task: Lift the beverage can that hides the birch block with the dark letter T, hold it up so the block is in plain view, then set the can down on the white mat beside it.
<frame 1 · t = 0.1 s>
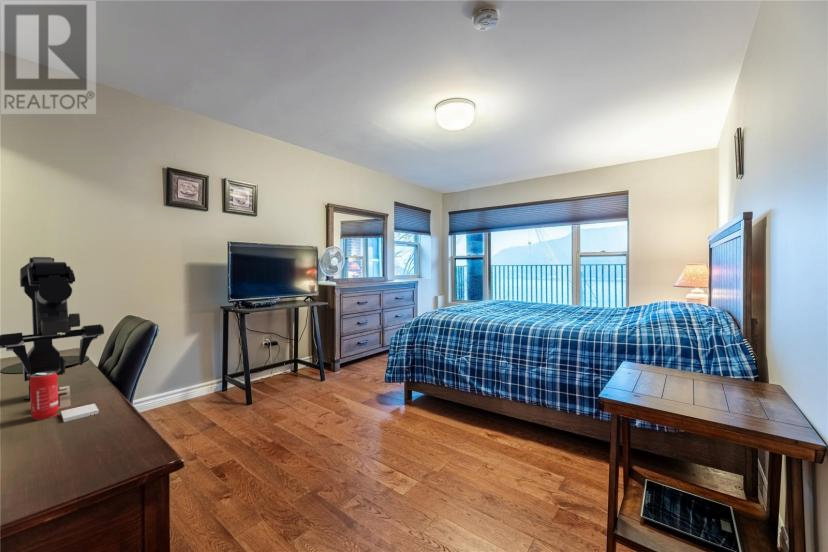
hand: (56, 369, 88), 15 cm above the table, tool pointing down, fingers open, 9 cm apart
letter block: (58, 406, 103), on the table
white mat: (80, 414, 97), on the table
beverage can: (45, 417, 96), on the table
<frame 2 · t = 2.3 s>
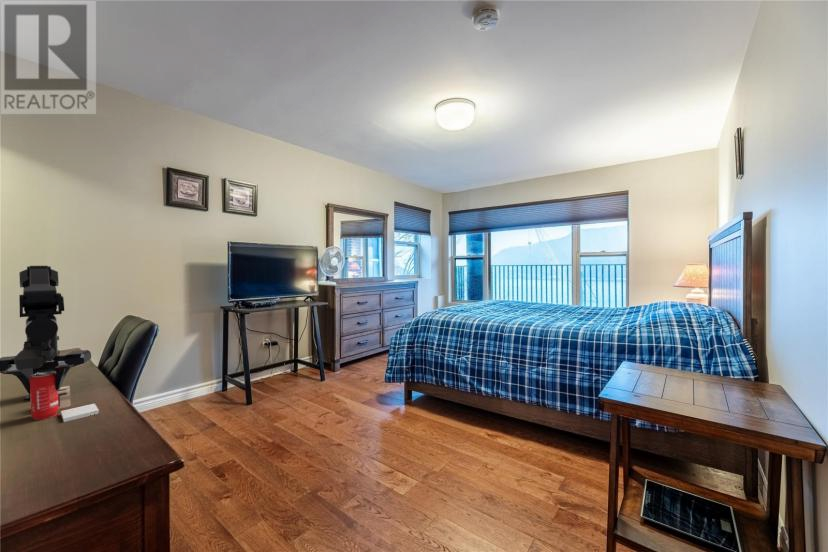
hand: (44, 391, 96), 7 cm above the table, tool pointing down, fingers closed on beverage can, 5 cm apart
beverage can: (45, 417, 96), on the table, touching gripper
everything else where it was.
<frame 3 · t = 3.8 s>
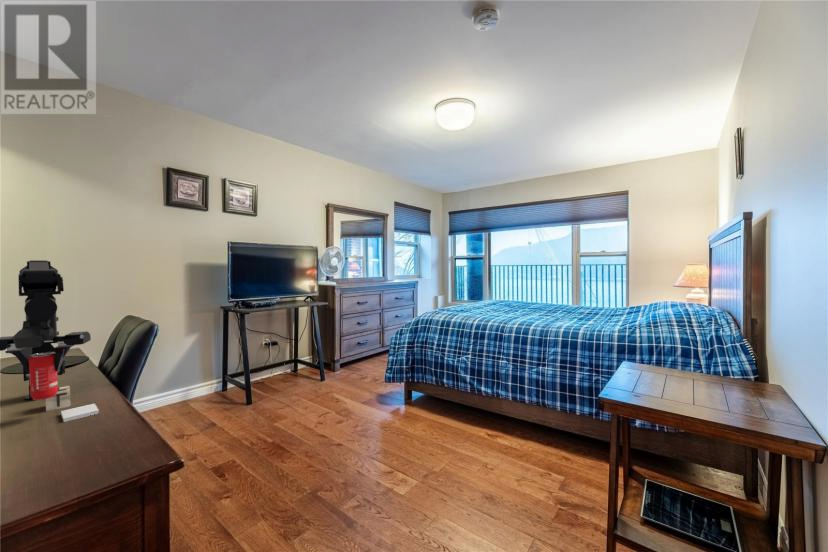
hand: (43, 371, 95), 12 cm above the table, tool pointing down, fingers closed on beverage can, 5 cm apart
beverage can: (44, 397, 96), point 5 cm above the table, touching gripper
everything else where it was.
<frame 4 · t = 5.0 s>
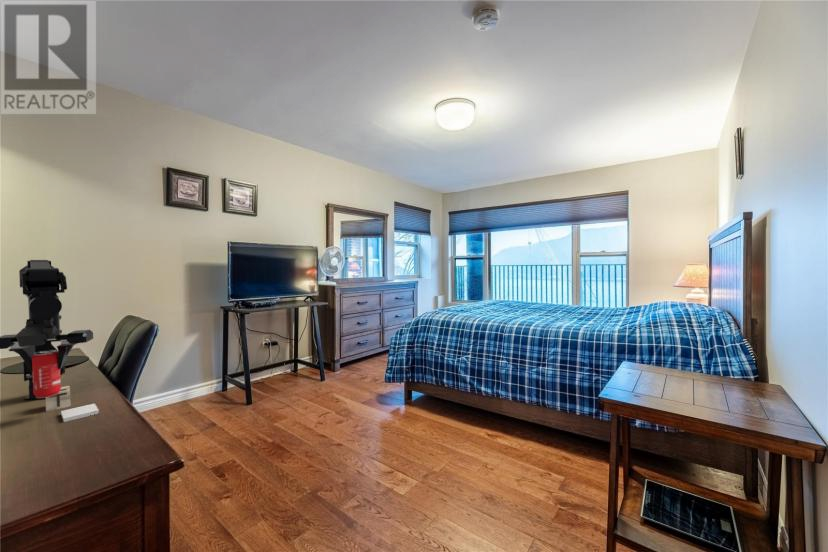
hand: (46, 369, 96), 13 cm above the table, tool pointing down, fingers closed on beverage can, 5 cm apart
beverage can: (47, 395, 96), point 6 cm above the table, touching gripper
everything else where it was.
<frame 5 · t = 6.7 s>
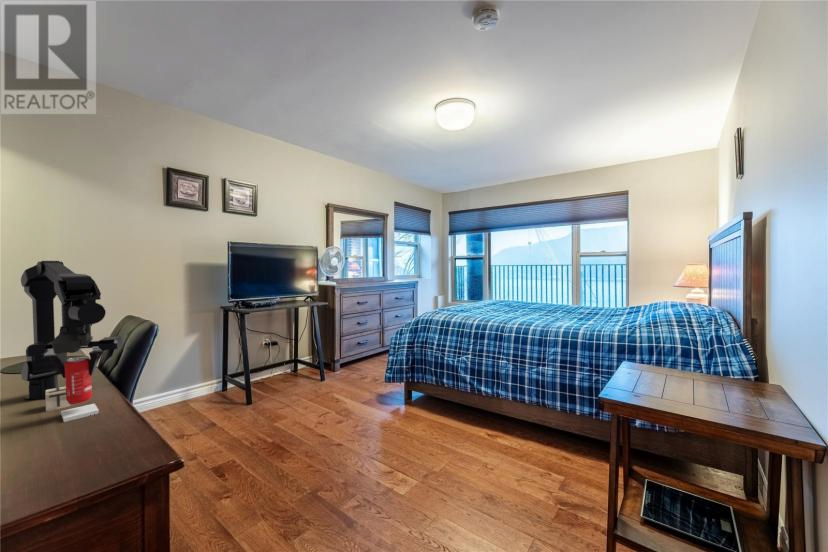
hand: (78, 376, 97), 11 cm above the table, tool pointing down, fingers closed on beverage can, 5 cm apart
beverage can: (79, 401, 97), point 4 cm above the table, touching gripper
everything else where it was.
when the fingers open (9 cm above the table, at t = 7.8 s): beverage can drops 1 cm, resting on white mat.
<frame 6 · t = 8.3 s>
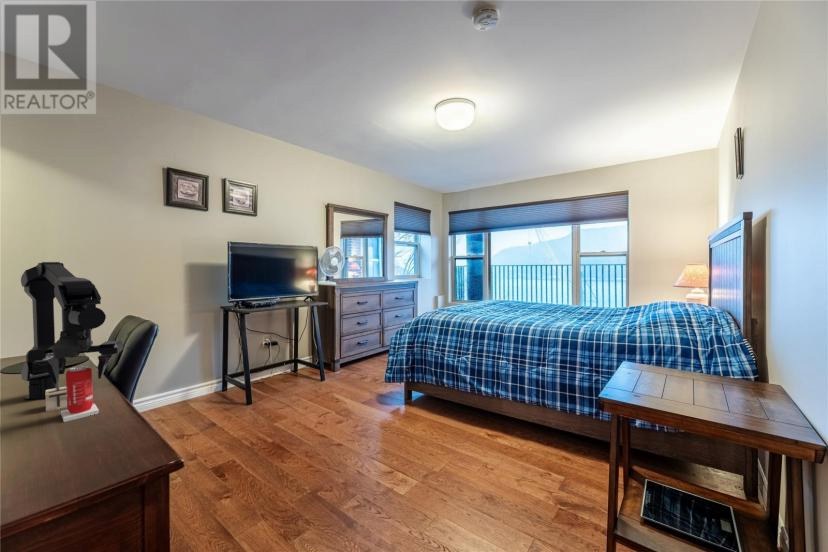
hand: (78, 380, 97), 9 cm above the table, tool pointing down, fingers open, 9 cm apart
beverage can: (80, 411, 98), point 1 cm above the table, touching white mat
everything else where it was.
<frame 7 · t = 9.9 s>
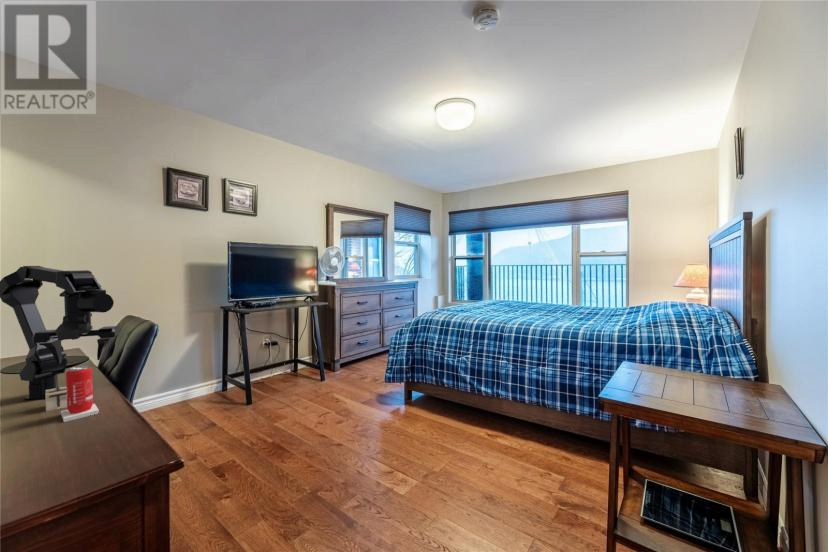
hand: (79, 361, 107), 12 cm above the table, tool pointing down, fingers open, 9 cm apart
nothing on the table moved.
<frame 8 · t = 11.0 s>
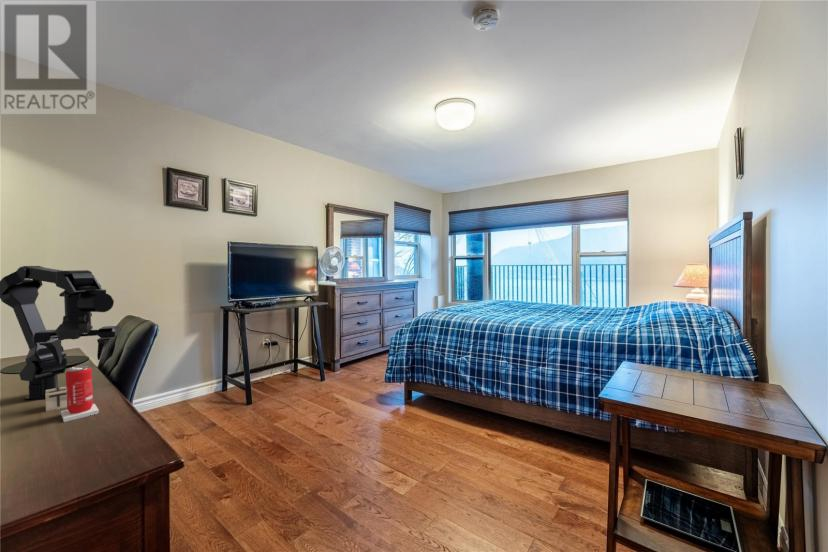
hand: (79, 361, 107), 12 cm above the table, tool pointing down, fingers open, 9 cm apart
nothing on the table moved.
at the end: beverage can 0.1 cm off-centre on the white mat, point 0.8 cm above the white mat's base; beverage can tilted 0°; letter block moved 0.1 cm from its start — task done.
